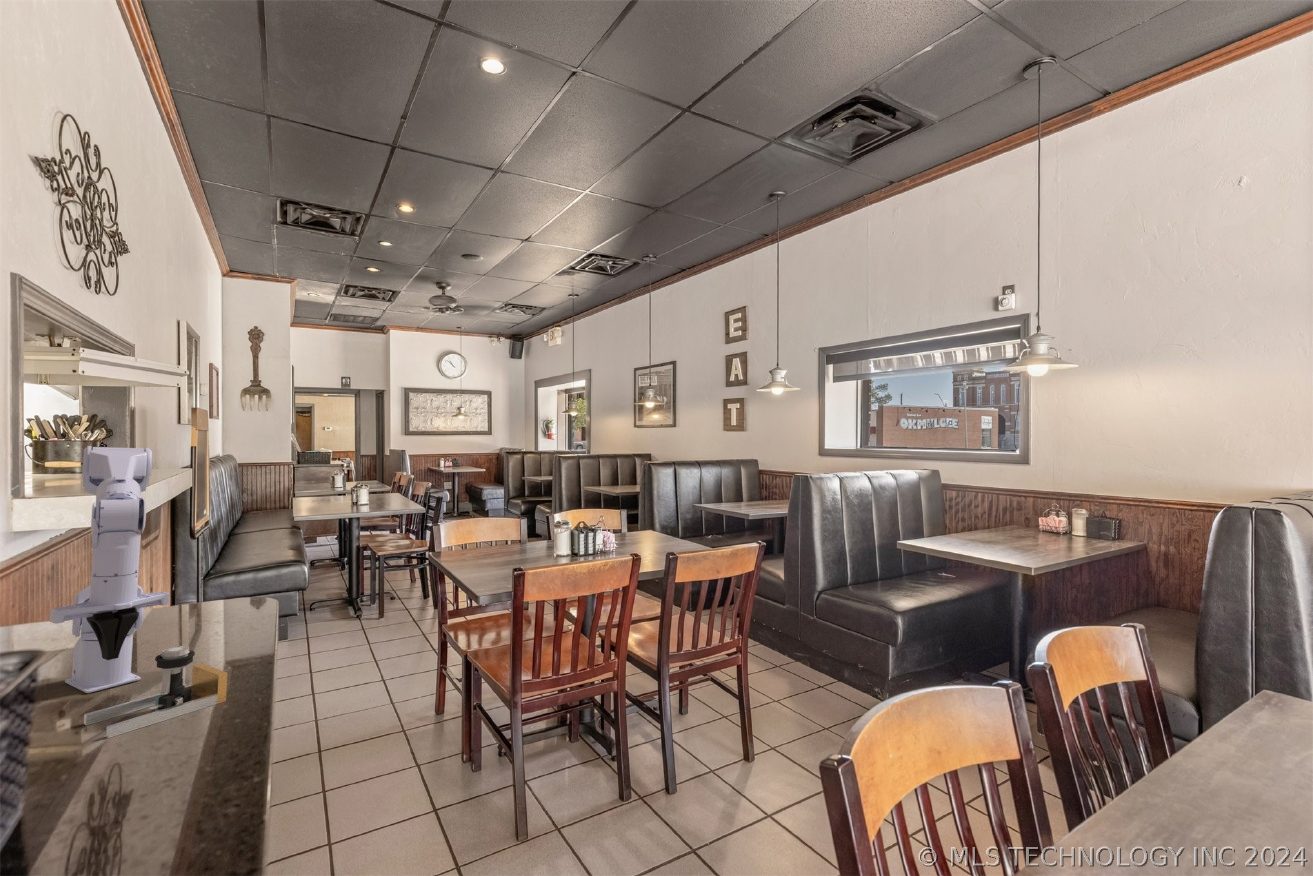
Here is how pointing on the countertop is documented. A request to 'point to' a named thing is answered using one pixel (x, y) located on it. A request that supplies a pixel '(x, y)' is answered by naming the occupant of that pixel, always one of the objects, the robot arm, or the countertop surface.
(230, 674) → the countertop surface
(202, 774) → the countertop surface
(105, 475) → the robot arm
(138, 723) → the rail
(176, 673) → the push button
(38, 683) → the countertop surface
